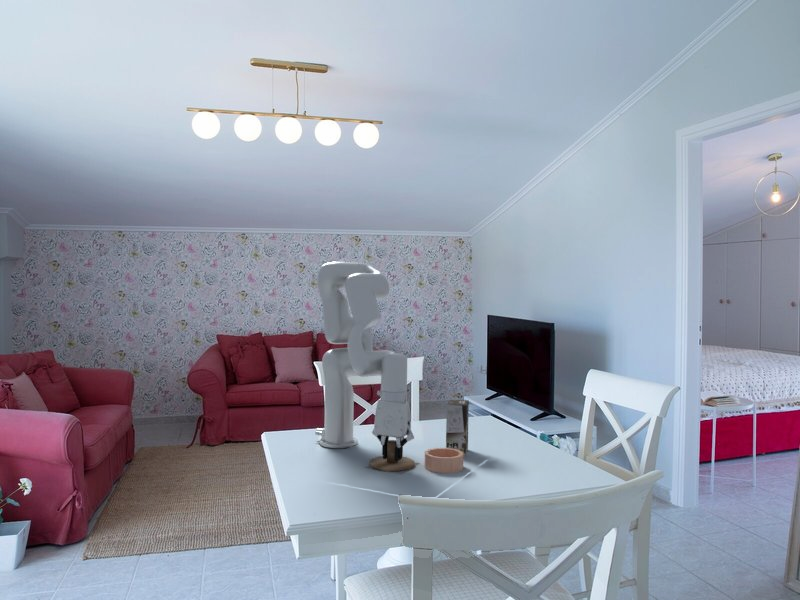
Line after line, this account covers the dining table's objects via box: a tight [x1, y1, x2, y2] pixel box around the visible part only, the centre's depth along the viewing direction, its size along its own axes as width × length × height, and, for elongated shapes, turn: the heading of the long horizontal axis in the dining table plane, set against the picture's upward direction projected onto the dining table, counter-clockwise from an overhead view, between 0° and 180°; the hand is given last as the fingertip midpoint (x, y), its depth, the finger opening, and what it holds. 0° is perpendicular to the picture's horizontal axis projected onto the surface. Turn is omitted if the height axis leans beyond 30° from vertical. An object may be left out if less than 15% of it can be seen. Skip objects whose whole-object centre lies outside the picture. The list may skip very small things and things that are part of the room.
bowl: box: [423, 447, 465, 474], centre depth 182 cm, size 11×11×4 cm
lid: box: [369, 439, 415, 473], centre depth 183 cm, size 13×13×7 cm
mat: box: [364, 461, 421, 475], centre depth 182 cm, size 12×12×1 cm
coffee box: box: [445, 399, 470, 457], centre depth 199 cm, size 9×6×16 cm
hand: (392, 458), depth 183 cm, fingers closed on lid, 3 cm apart
